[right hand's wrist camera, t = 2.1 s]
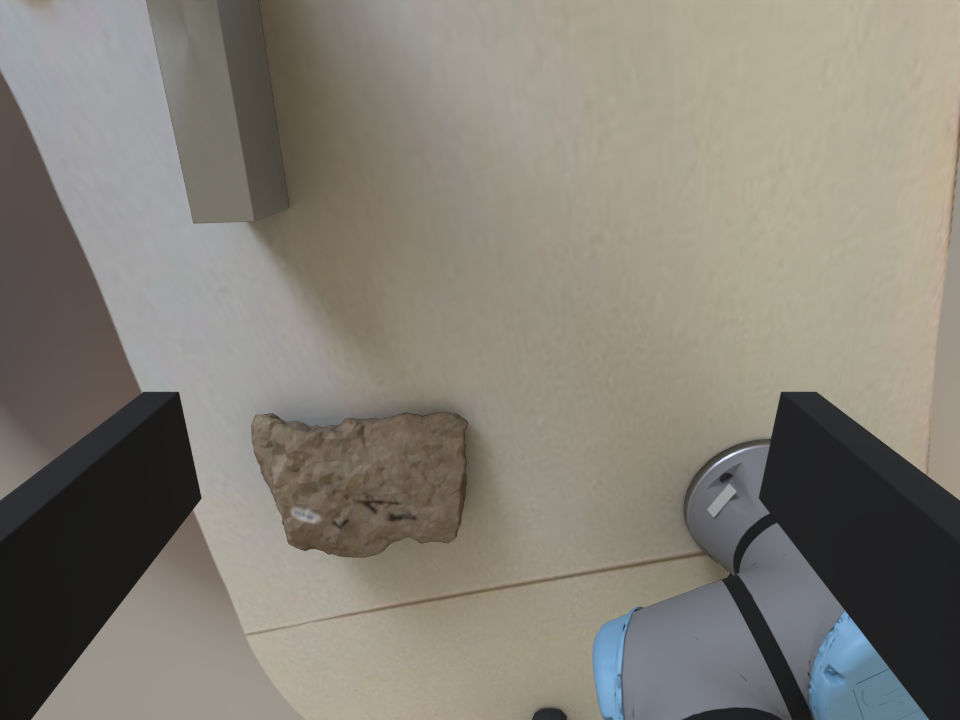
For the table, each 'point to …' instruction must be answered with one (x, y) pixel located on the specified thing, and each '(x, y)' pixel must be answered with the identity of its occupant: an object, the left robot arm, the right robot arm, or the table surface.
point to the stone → (365, 480)
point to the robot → (549, 715)
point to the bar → (221, 107)
